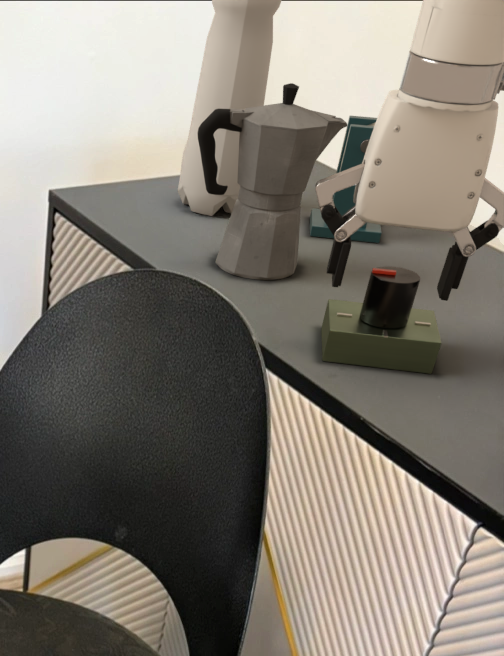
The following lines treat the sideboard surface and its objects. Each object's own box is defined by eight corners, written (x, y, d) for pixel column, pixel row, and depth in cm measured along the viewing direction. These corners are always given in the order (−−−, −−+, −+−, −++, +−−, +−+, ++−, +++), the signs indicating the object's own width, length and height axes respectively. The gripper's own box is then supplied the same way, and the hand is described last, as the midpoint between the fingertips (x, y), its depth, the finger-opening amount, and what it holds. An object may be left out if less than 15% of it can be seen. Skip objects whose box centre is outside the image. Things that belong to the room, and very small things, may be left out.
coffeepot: (302, 251, 128) (341, 74, 116) (326, 281, 121) (370, 96, 109) (169, 250, 127) (196, 71, 115) (186, 280, 120) (215, 93, 108)
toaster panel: (424, 339, 109) (434, 307, 107) (431, 375, 103) (442, 342, 101) (321, 327, 111) (328, 296, 109) (322, 362, 105) (330, 329, 103)
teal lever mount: (376, 224, 136) (404, 118, 128) (379, 243, 131) (408, 133, 123) (309, 218, 137) (333, 111, 129) (309, 236, 132) (334, 126, 124)
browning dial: (405, 313, 106) (419, 265, 103) (408, 331, 103) (423, 282, 100) (358, 308, 107) (371, 260, 104) (360, 325, 104) (373, 277, 101)
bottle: (260, 217, 137) (318, -82, 117) (191, 220, 135) (238, -83, 115) (231, 194, 143) (281, -92, 123) (165, 197, 142) (205, -93, 122)
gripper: (551, 81, 93) (480, 286, 105) (341, 61, 96) (294, 263, 107) (566, 102, 88) (489, 315, 99) (343, 81, 90) (293, 291, 102)
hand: (388, 288), depth 103 cm, fingers open, 9 cm apart
